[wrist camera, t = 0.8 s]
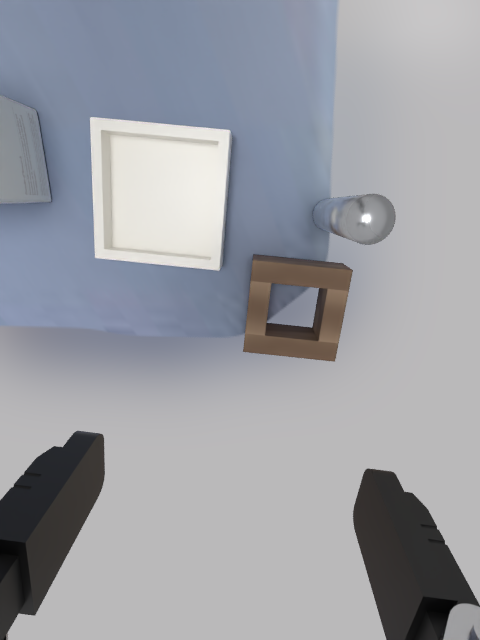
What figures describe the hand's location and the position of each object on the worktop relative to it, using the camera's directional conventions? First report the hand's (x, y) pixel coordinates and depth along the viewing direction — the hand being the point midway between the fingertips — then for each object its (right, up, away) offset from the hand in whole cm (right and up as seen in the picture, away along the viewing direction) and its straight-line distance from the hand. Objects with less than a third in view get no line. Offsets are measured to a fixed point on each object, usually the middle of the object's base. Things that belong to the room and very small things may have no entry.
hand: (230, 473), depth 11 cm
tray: (-6, +15, +20) cm, 26 cm away
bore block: (+5, +6, +22) cm, 23 cm away
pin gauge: (+8, +14, +19) cm, 25 cm away
